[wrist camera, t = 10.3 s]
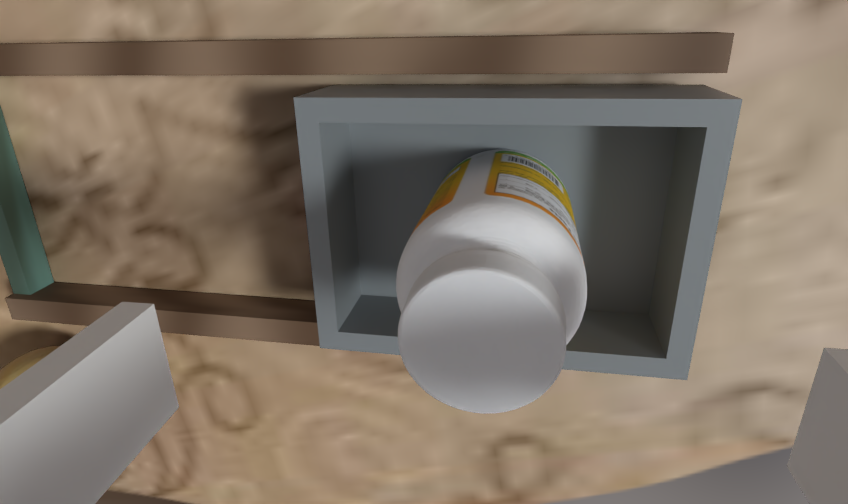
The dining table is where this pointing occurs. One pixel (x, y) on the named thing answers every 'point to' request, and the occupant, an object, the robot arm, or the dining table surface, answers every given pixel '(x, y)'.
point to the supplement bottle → (491, 284)
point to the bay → (512, 54)
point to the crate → (571, 161)
